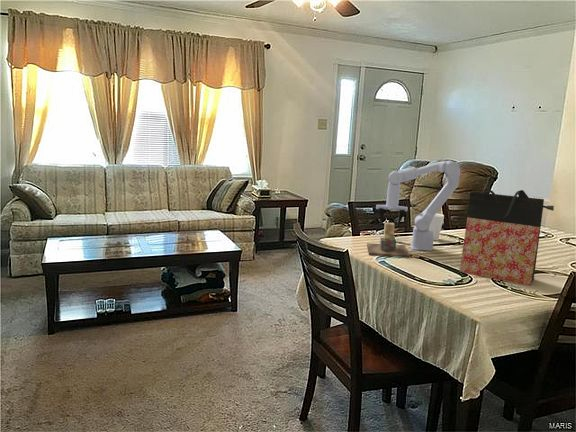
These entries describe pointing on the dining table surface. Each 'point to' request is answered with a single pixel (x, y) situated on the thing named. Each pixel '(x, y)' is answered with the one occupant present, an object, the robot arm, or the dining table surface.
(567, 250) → the dining table surface
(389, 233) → the post
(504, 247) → the gift bag
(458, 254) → the dining table surface
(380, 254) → the stand base
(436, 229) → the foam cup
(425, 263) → the dining table surface
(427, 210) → the robot arm
